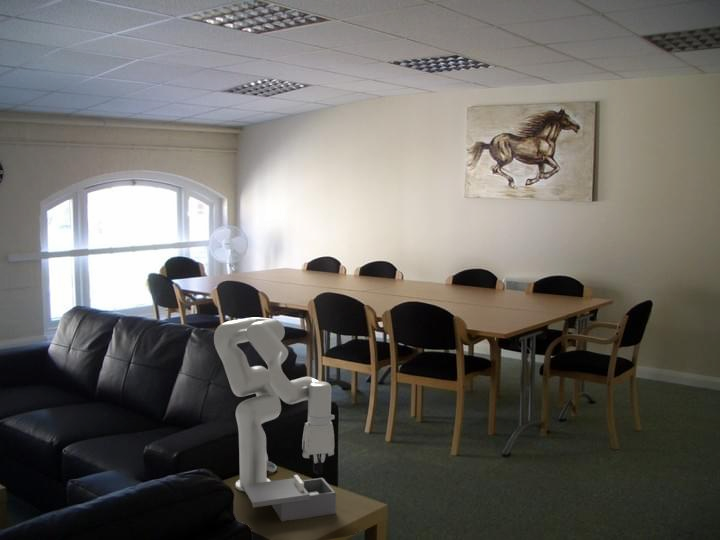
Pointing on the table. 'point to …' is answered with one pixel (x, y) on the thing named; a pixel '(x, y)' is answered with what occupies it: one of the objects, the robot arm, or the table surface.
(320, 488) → the base
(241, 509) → the table surface
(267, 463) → the ceramic mug
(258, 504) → the lid
